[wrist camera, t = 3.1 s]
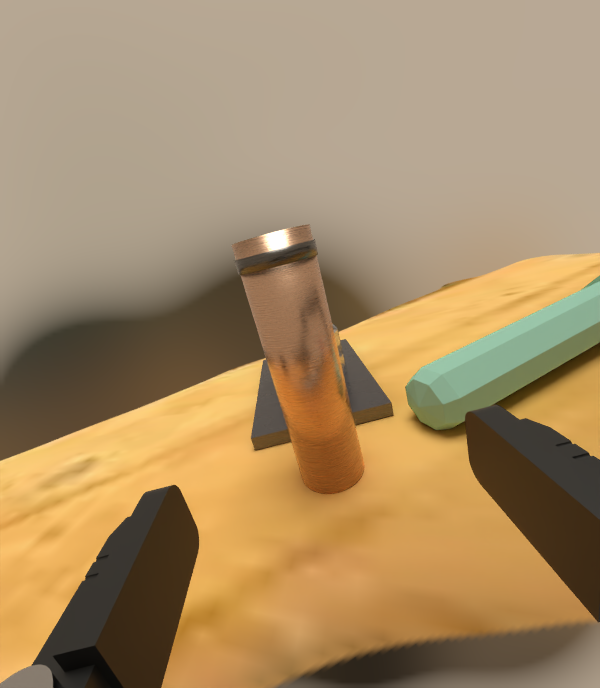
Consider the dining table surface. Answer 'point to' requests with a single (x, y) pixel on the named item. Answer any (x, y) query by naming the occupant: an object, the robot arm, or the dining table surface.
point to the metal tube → (302, 354)
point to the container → (505, 360)
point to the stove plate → (360, 387)
